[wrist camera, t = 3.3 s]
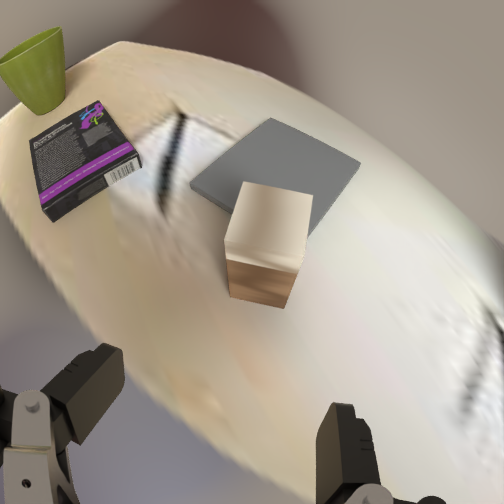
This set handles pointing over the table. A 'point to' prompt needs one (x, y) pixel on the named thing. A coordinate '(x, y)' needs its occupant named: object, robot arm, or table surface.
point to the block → (266, 243)
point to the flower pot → (37, 71)
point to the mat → (278, 168)
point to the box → (80, 159)
